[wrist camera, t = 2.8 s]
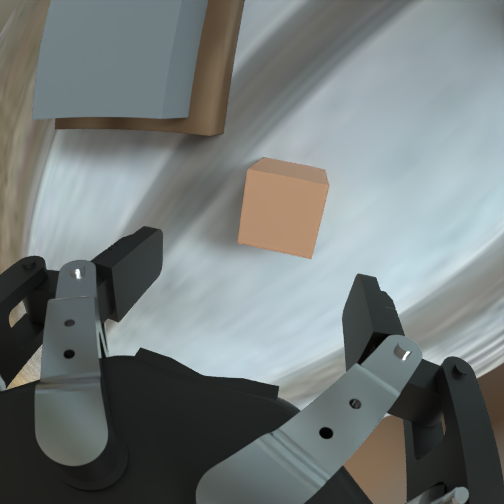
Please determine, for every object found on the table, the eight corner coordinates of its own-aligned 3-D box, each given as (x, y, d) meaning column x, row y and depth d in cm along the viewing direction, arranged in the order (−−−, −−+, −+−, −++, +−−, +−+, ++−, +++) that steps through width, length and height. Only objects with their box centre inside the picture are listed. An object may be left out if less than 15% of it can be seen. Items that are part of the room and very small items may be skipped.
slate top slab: (224, -61, 12) (208, -85, 8) (188, 117, 19) (161, 118, 16) (93, -35, 13) (67, -45, 10) (63, 115, 21) (32, 120, 17)
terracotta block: (325, 169, 22) (329, 185, 17) (312, 227, 25) (311, 259, 19) (263, 157, 23) (247, 168, 18) (254, 215, 25) (237, 243, 20)
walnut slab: (256, -47, 15) (246, -68, 11) (225, 132, 23) (209, 135, 20) (107, -26, 17) (84, -35, 13) (81, 124, 25) (55, 129, 21)
